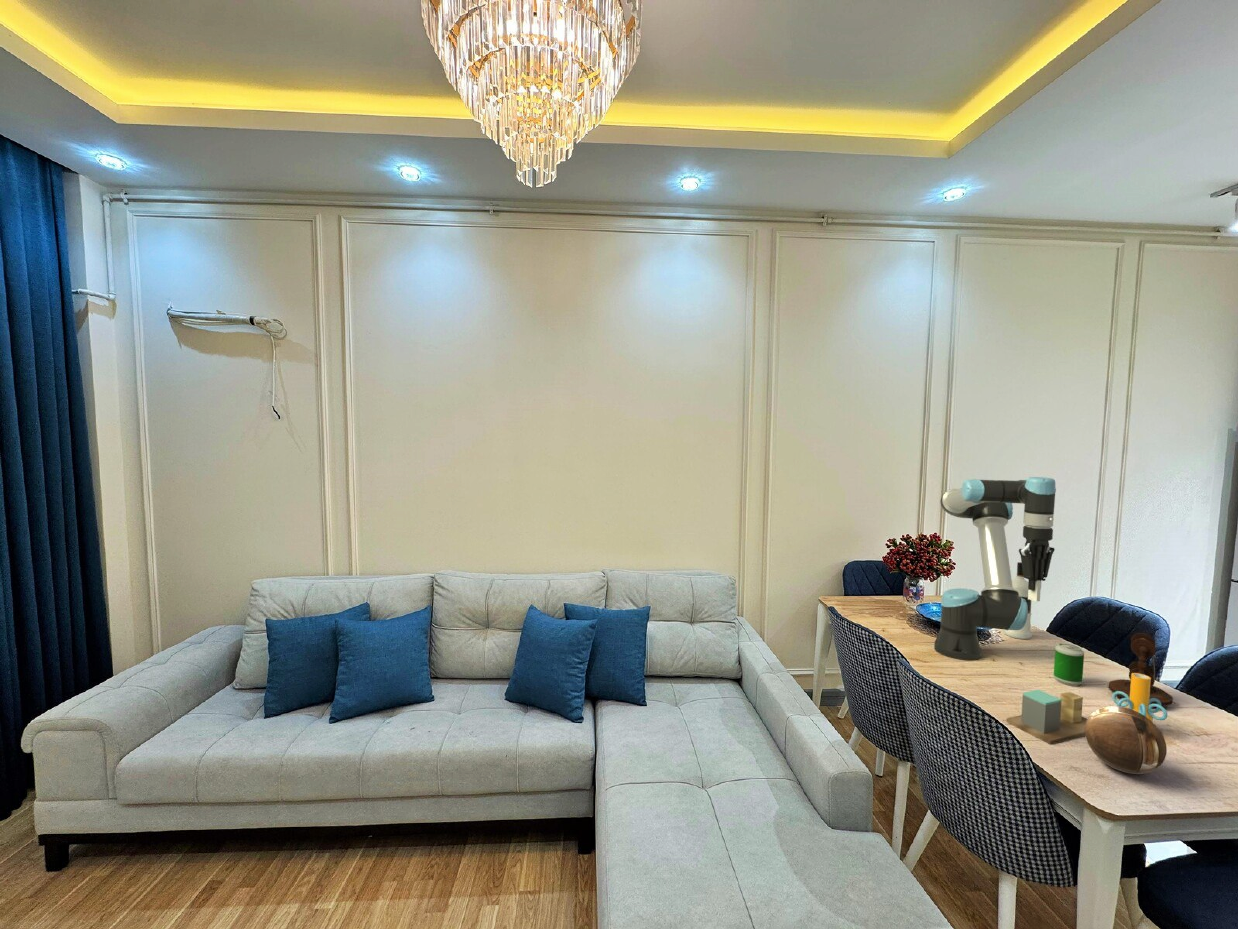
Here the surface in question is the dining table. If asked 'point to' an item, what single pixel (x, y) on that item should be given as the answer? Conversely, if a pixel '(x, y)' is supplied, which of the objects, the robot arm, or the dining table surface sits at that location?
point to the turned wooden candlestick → (1142, 670)
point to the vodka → (1022, 589)
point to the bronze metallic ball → (1125, 740)
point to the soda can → (1068, 664)
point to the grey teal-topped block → (1041, 711)
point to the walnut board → (1069, 721)
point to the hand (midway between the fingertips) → (1033, 600)
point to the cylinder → (1140, 697)
